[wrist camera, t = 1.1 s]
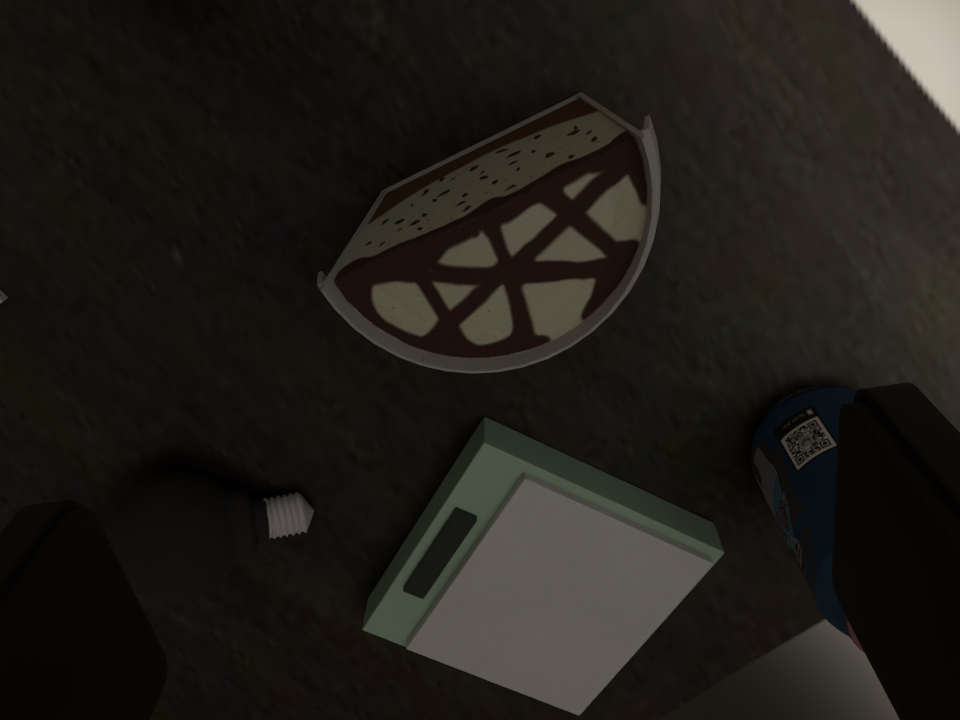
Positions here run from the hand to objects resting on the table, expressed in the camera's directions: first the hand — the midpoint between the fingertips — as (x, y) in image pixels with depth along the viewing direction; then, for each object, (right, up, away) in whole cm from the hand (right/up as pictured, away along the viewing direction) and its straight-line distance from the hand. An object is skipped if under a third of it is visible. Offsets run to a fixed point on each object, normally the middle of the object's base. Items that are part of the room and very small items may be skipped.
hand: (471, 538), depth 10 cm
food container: (+1, +9, +25) cm, 27 cm away
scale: (+3, -9, +35) cm, 36 cm away
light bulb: (-14, -5, +33) cm, 36 cm away
